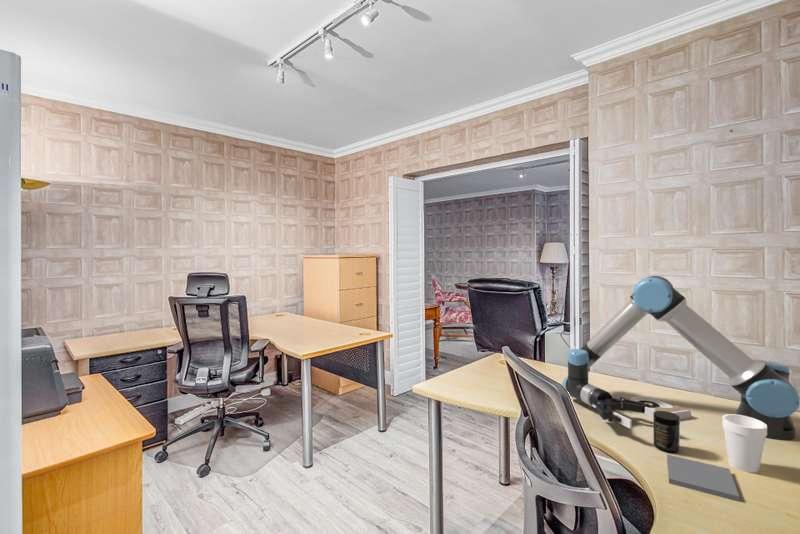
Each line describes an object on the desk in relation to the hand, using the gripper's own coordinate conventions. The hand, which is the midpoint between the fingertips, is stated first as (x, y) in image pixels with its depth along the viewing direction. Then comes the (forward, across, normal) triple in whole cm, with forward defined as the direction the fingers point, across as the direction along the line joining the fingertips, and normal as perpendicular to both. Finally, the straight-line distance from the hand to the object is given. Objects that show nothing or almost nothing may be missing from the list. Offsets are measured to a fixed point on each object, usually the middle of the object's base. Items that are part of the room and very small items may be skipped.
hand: (647, 421), depth 123 cm
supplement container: (+6, 0, -6) cm, 9 cm away
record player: (-18, -25, -6) cm, 31 cm away
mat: (+20, +6, -6) cm, 22 cm away
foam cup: (+20, -12, -6) cm, 24 cm away
